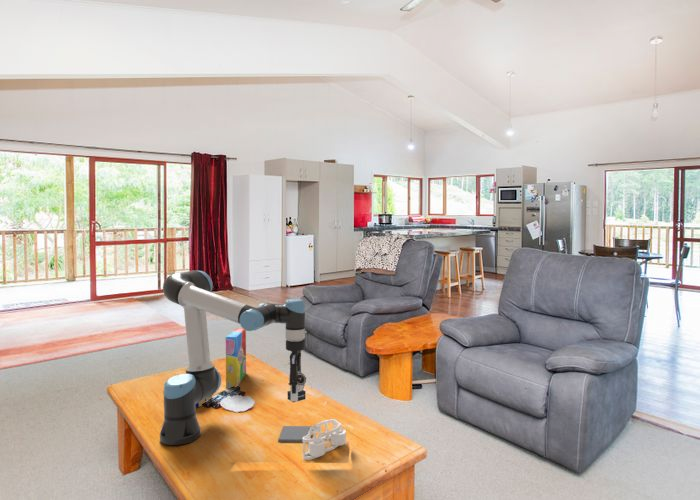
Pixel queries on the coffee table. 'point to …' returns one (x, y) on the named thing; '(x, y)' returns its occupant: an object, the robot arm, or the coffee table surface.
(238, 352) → the game box
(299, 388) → the watch
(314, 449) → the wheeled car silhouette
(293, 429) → the mat
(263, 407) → the coffee table surface
